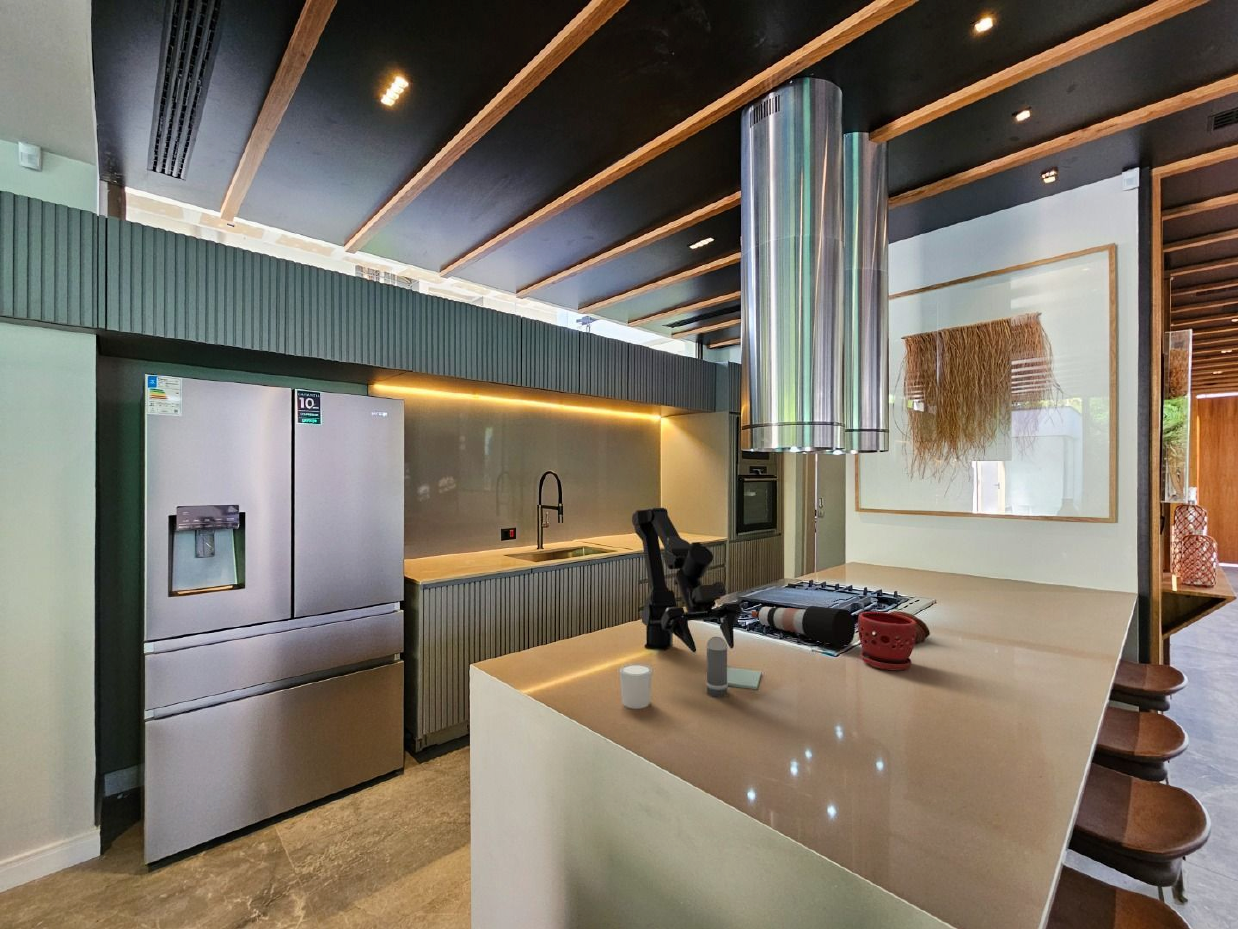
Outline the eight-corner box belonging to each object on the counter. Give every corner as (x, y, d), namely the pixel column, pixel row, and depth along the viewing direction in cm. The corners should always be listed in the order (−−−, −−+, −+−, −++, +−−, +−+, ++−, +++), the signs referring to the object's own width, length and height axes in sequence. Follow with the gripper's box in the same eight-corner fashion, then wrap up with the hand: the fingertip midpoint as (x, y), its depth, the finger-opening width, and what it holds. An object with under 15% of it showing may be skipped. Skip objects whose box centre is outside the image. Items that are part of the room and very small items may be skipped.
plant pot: (903, 678, 128) (903, 627, 128) (849, 663, 138) (848, 616, 138) (924, 665, 136) (924, 617, 137) (872, 652, 146) (871, 607, 146)
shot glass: (656, 698, 116) (656, 665, 116) (647, 712, 109) (647, 677, 109) (625, 694, 118) (625, 661, 118) (615, 707, 112) (615, 673, 112)
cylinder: (704, 695, 117) (704, 638, 118) (708, 687, 122) (708, 633, 122) (725, 698, 116) (725, 641, 116) (729, 690, 120) (729, 635, 120)
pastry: (861, 631, 167) (861, 605, 167) (908, 629, 169) (907, 603, 169) (895, 648, 150) (895, 619, 150) (946, 647, 152) (946, 618, 152)
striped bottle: (759, 634, 178) (766, 605, 181) (851, 651, 150) (857, 616, 153) (738, 624, 173) (746, 594, 177) (829, 639, 145) (836, 603, 149)
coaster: (712, 683, 124) (712, 680, 124) (719, 668, 134) (719, 666, 134) (756, 689, 121) (756, 686, 121) (761, 674, 130) (761, 671, 130)
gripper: (665, 572, 123) (686, 634, 112) (738, 567, 129) (764, 626, 118) (652, 599, 130) (671, 660, 119) (722, 594, 136) (746, 652, 125)
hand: (713, 649), depth 120 cm, fingers open, 9 cm apart
